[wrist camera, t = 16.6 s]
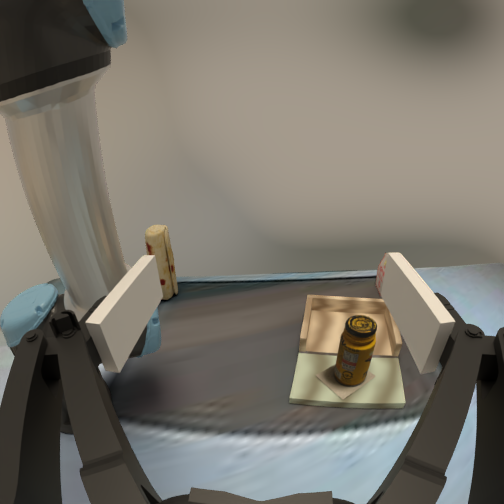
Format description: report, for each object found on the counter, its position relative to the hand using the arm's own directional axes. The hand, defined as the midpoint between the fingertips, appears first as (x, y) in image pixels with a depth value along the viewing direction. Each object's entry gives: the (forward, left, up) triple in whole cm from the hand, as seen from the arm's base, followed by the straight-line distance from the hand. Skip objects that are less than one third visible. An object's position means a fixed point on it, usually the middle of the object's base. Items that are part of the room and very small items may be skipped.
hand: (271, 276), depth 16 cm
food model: (-39, +47, -34) cm, 69 cm away
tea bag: (+20, +59, -34) cm, 71 cm away
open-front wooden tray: (+9, +32, -34) cm, 47 cm away
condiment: (+9, +24, -32) cm, 41 cm away
